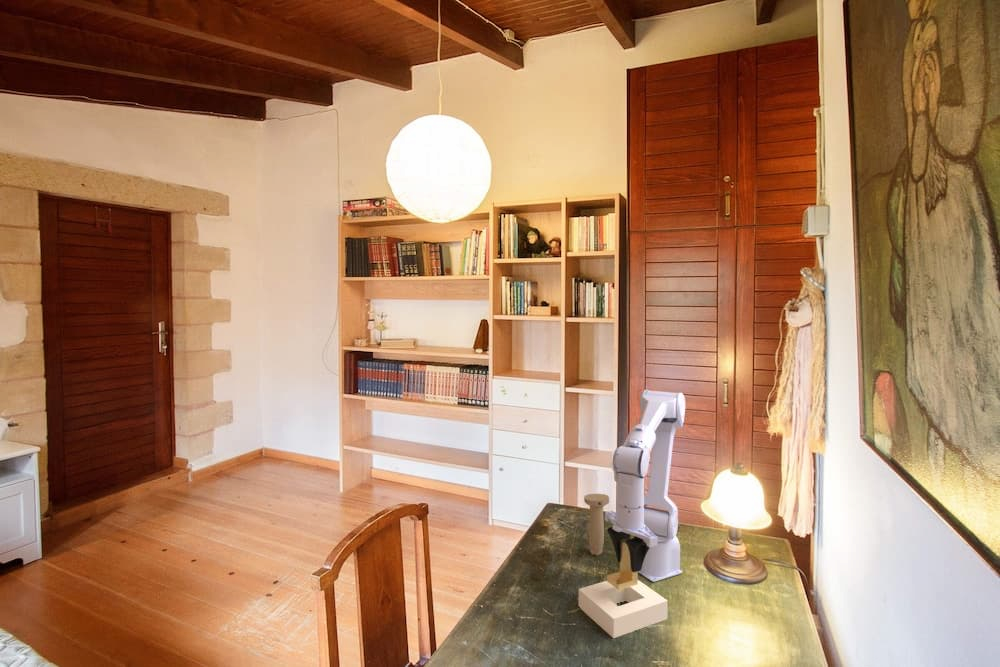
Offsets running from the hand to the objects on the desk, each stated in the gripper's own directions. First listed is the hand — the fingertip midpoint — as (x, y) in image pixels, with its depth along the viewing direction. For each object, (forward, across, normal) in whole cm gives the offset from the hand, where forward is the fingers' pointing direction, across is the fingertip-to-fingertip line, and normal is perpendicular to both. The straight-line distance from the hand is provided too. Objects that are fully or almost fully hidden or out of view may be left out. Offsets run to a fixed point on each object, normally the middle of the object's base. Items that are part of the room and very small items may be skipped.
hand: (629, 565), depth 114 cm
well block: (+10, 0, -2) cm, 10 cm away
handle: (+10, -24, +9) cm, 28 cm away
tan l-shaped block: (+3, 0, -2) cm, 4 cm away
